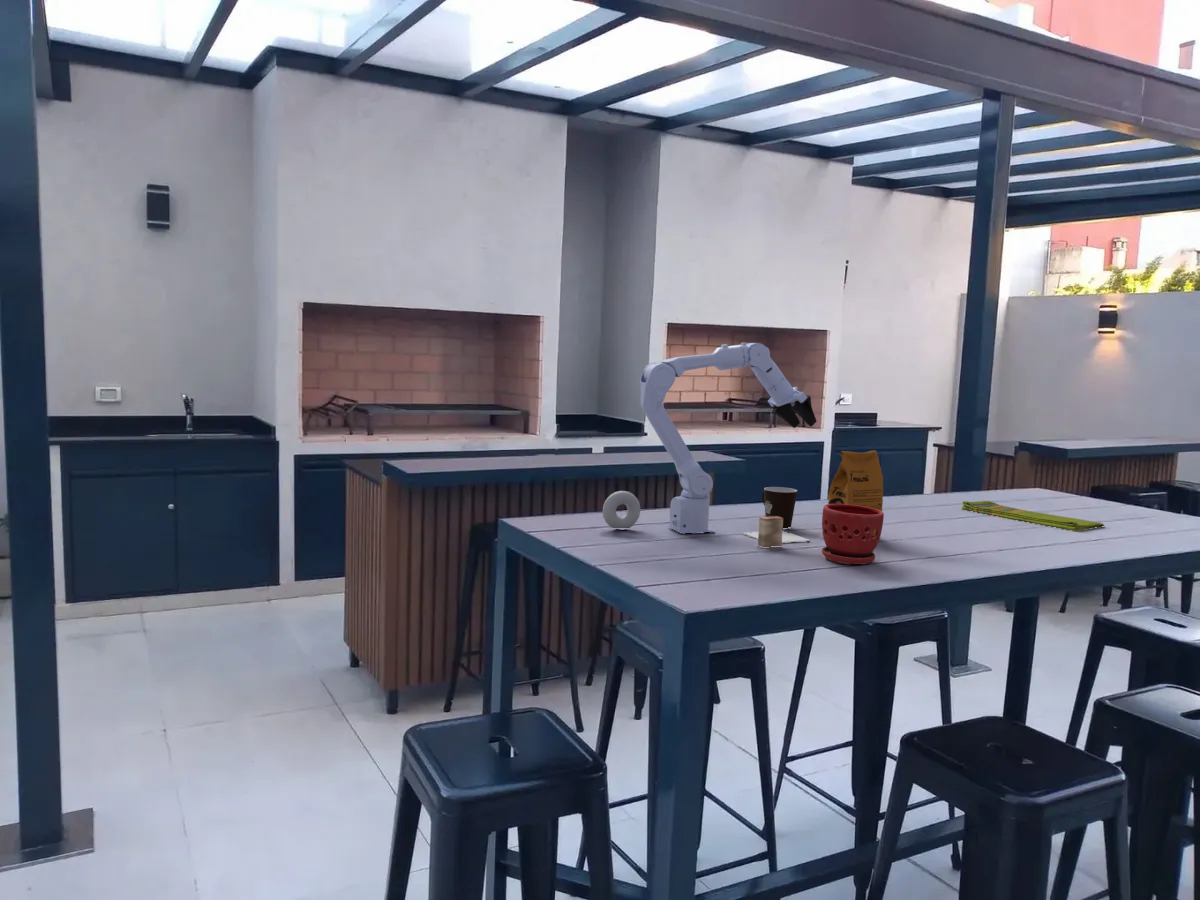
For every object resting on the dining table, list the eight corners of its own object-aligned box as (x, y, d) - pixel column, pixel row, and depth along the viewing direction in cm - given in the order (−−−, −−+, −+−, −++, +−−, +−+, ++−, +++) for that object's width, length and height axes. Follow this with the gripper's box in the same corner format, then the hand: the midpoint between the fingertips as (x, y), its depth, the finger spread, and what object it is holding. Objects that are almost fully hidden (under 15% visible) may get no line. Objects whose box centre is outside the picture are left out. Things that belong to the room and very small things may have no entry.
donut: (636, 528, 234) (638, 489, 233) (641, 530, 231) (643, 491, 230) (599, 529, 231) (601, 490, 230) (604, 532, 228) (606, 492, 226)
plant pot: (839, 569, 198) (842, 514, 196) (809, 555, 210) (812, 503, 209) (892, 566, 201) (896, 512, 200) (859, 553, 214) (862, 502, 213)
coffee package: (820, 534, 234) (825, 448, 232) (861, 532, 238) (866, 448, 236) (842, 542, 225) (848, 453, 222) (885, 540, 229) (891, 452, 227)
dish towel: (990, 507, 287) (991, 497, 287) (1105, 529, 258) (1106, 517, 257) (959, 511, 279) (960, 500, 278) (1074, 533, 249) (1075, 522, 249)
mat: (768, 544, 220) (768, 542, 220) (742, 534, 231) (742, 532, 231) (810, 541, 224) (810, 540, 224) (782, 531, 235) (782, 530, 235)
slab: (763, 548, 216) (765, 519, 215) (757, 546, 218) (759, 517, 217) (781, 547, 217) (783, 518, 217) (775, 545, 220) (777, 516, 219)
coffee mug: (798, 531, 237) (800, 492, 236) (764, 529, 237) (766, 491, 236) (789, 522, 249) (791, 485, 248) (757, 521, 249) (759, 484, 248)
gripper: (801, 370, 227) (831, 413, 230) (770, 376, 240) (799, 416, 243) (782, 387, 225) (813, 431, 228) (752, 392, 238) (782, 433, 241)
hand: (805, 424), depth 235 cm, fingers open, 7 cm apart
